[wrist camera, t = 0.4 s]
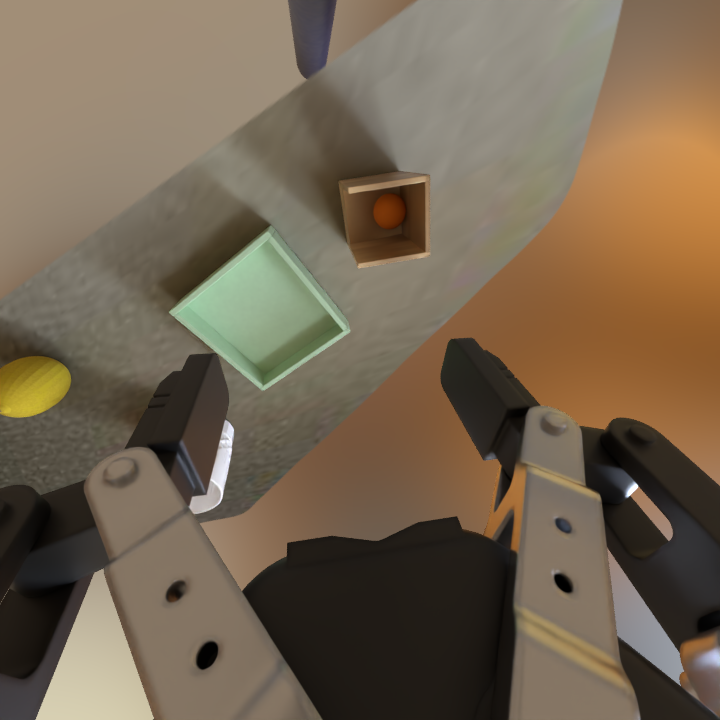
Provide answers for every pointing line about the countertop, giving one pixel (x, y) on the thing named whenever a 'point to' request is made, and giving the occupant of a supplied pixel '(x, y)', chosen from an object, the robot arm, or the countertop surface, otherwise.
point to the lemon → (32, 385)
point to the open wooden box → (375, 241)
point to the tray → (262, 311)
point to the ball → (389, 211)
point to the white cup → (216, 474)
